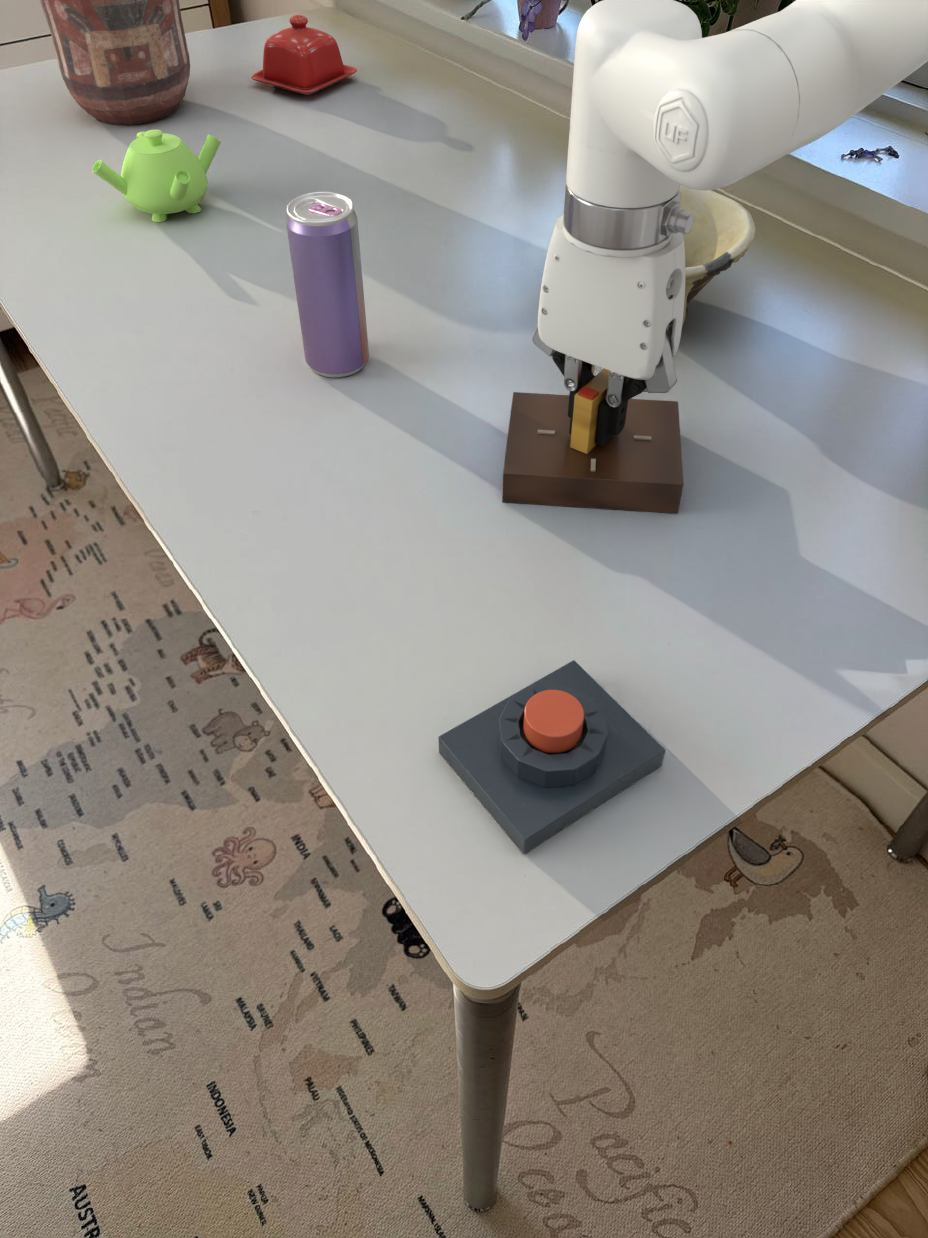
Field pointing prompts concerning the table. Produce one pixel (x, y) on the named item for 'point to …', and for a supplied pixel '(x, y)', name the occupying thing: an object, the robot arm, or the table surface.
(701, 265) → the bowl
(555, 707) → the release button
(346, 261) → the beverage can
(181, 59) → the pottery
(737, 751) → the table surface
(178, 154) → the teapot
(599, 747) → the box
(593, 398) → the thumbturn
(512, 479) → the plate
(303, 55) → the butter dish
